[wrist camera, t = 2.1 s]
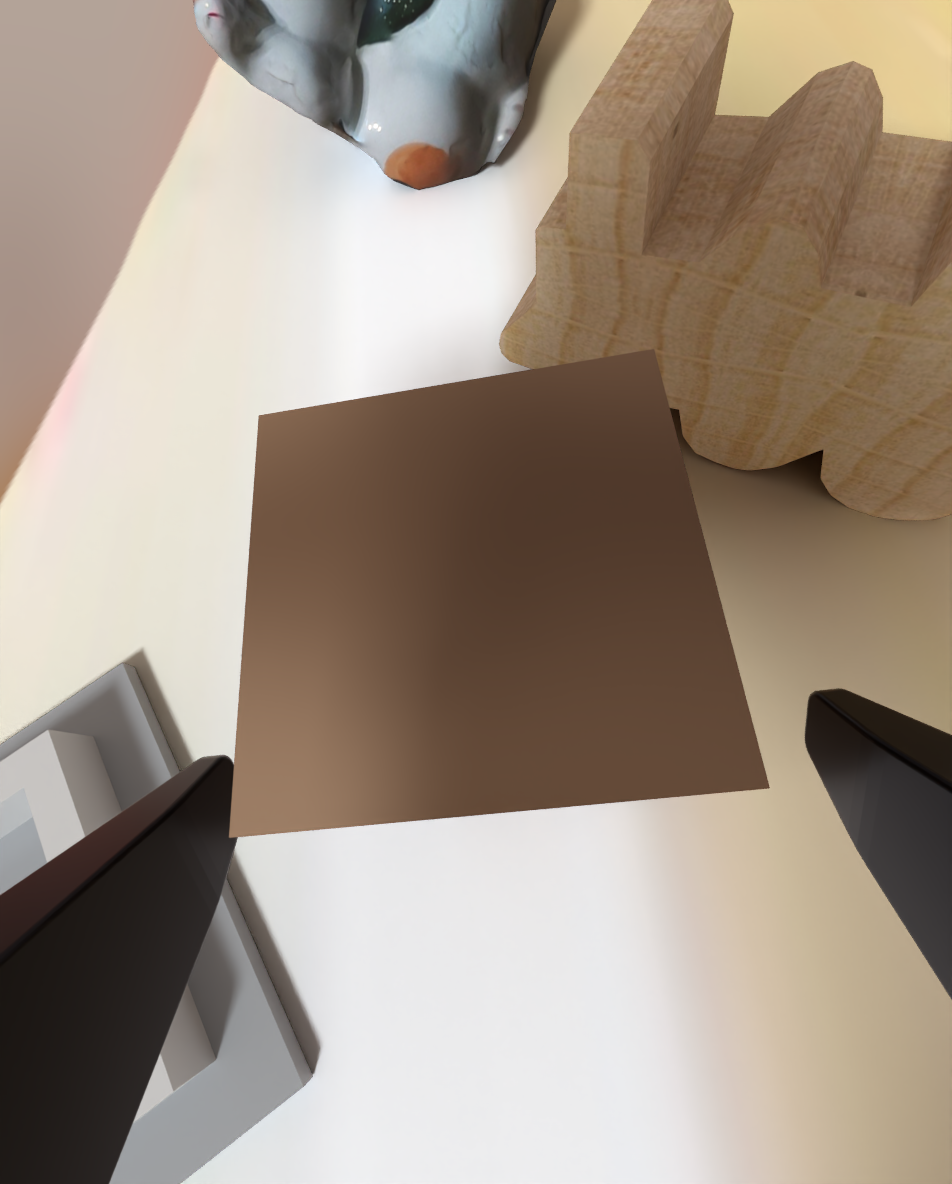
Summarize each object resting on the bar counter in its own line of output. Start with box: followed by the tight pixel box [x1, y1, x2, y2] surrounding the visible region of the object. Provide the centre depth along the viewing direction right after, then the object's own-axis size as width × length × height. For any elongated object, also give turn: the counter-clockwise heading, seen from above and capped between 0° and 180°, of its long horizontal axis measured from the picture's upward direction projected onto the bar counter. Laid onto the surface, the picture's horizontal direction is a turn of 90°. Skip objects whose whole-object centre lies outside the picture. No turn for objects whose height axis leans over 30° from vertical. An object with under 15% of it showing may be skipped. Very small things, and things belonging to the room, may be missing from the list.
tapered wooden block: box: [229, 349, 770, 838], centre depth 12 cm, size 5×5×12 cm
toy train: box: [499, 0, 952, 520], centre depth 16 cm, size 6×17×10 cm, turn 64°
